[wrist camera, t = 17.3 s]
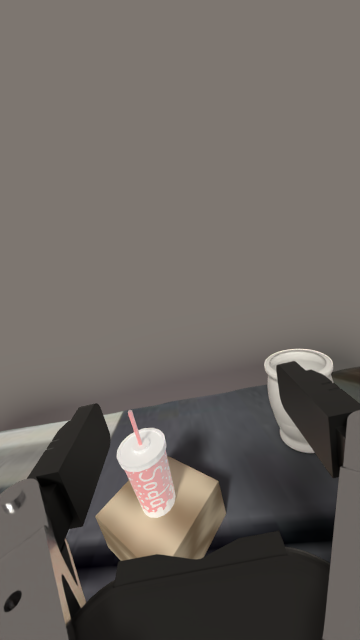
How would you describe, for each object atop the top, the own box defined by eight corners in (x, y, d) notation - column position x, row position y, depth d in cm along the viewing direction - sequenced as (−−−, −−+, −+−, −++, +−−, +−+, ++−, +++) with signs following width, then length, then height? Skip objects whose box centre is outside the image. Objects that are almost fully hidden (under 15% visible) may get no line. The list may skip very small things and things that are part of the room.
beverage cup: (132, 528, 30) (96, 435, 26) (140, 482, 35) (111, 401, 32) (181, 519, 29) (152, 423, 26) (181, 475, 35) (157, 391, 31)
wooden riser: (165, 477, 42) (156, 450, 41) (226, 513, 34) (218, 481, 33) (108, 547, 34) (95, 516, 32) (172, 616, 26) (159, 578, 24)
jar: (281, 411, 51) (272, 347, 47) (339, 422, 45) (335, 349, 41) (267, 449, 43) (255, 375, 39) (336, 468, 37) (330, 382, 33)
